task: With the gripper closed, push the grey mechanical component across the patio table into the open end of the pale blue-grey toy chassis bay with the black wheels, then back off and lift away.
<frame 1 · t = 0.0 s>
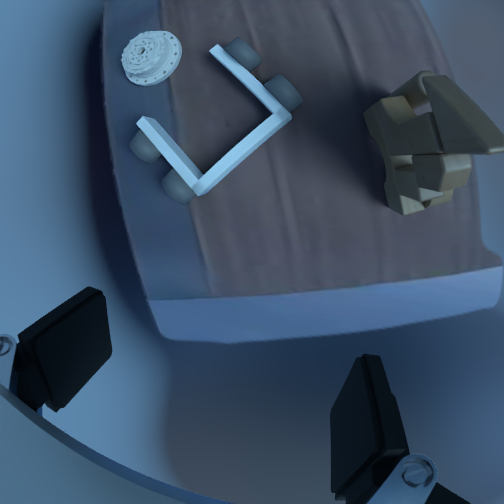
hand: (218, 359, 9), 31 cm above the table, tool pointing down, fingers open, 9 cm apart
wooden toy: (395, 149, 33), on the table
mechanical component: (155, 59, 35), on the table
chassis bay: (211, 116, 36), on the table
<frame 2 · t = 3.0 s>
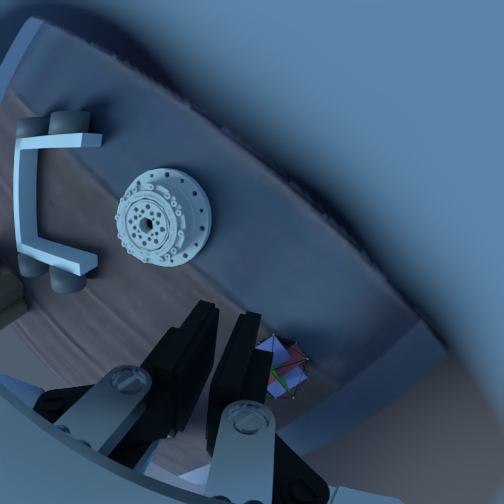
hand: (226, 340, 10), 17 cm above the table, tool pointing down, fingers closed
wooden toy: (8, 277, 37), on the table
geometric puzzle: (278, 349, 30), on the table
mechanical component: (168, 215, 28), on the table
chassis bay: (62, 197, 29), on the table
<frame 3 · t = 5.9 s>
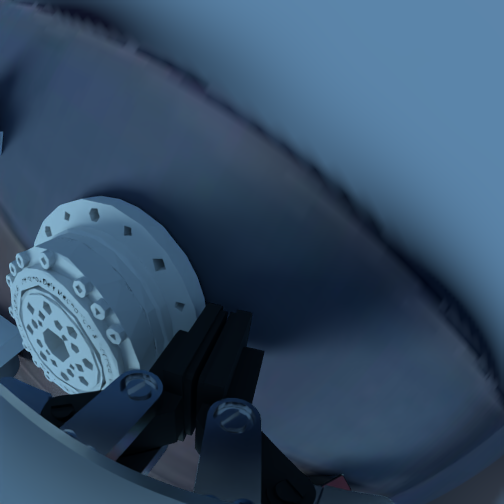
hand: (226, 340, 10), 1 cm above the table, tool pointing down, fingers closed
geometric puzzle: (312, 479, 15), on the table
mechanical component: (116, 296, 13), on the table, touching gripper
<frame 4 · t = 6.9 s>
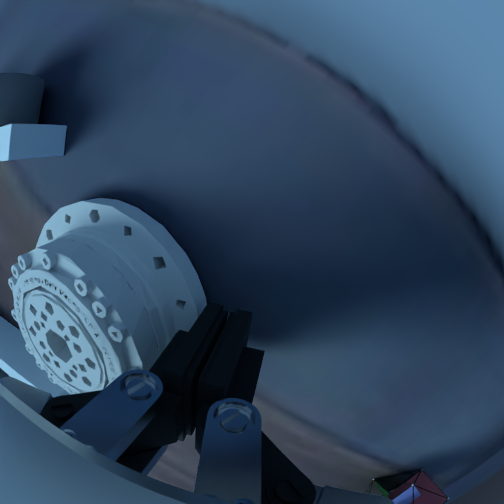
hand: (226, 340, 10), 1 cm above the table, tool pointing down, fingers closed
geometric puzzle: (394, 478, 14), on the table
mechanical component: (118, 297, 13), on the table, touching gripper
chassis bay: (9, 256, 13), on the table
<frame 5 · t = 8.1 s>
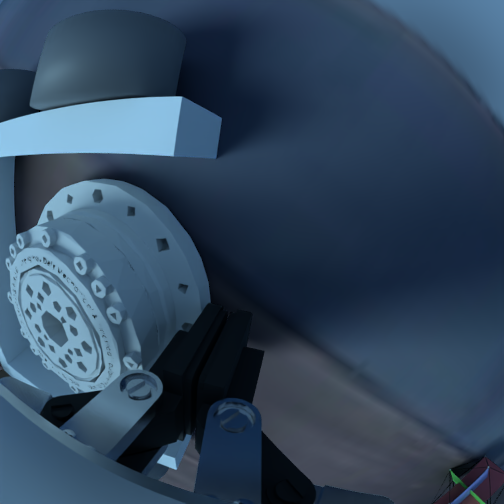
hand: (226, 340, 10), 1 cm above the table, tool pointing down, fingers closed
geometric puzzle: (462, 467, 13), on the table
mechanical component: (117, 282, 12), on the table
chassis bay: (84, 283, 12), on the table
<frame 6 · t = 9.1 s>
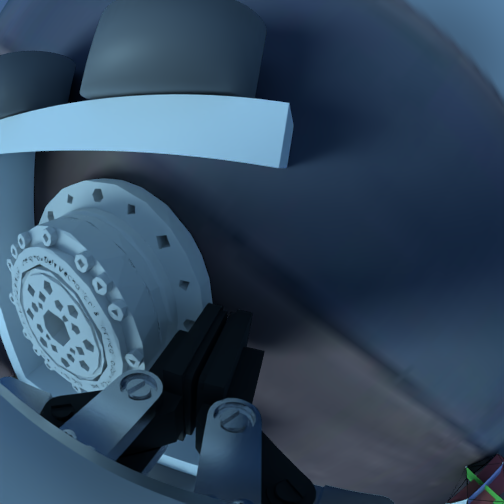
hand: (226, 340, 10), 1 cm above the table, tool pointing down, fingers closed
geometric puzzle: (476, 464, 13), on the table
mechanical component: (119, 282, 12), on the table
chassis bay: (120, 294, 12), on the table
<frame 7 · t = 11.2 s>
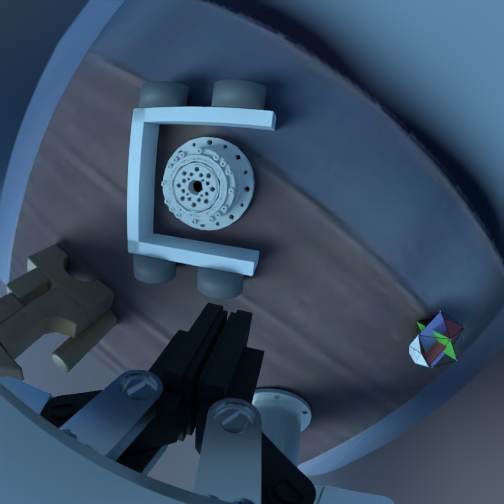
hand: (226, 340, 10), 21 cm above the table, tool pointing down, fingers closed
wooden toy: (84, 285, 38), on the table
geometric puzzle: (428, 326, 31), on the table
mechanical component: (210, 182, 30), on the table
chassis bay: (207, 184, 30), on the table
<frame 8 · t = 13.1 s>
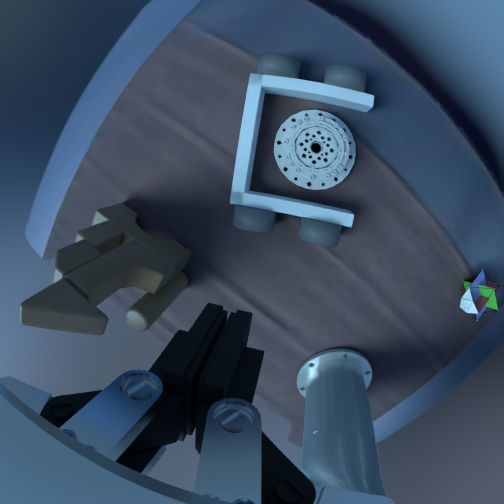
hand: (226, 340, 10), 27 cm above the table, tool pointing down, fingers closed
wooden toy: (152, 246, 41), on the table
geometric puzzle: (470, 286, 34), on the table
mechanical component: (314, 149, 33), on the table
chassis bay: (308, 149, 33), on the table
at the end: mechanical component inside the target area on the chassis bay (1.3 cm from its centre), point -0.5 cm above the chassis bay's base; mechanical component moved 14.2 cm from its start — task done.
